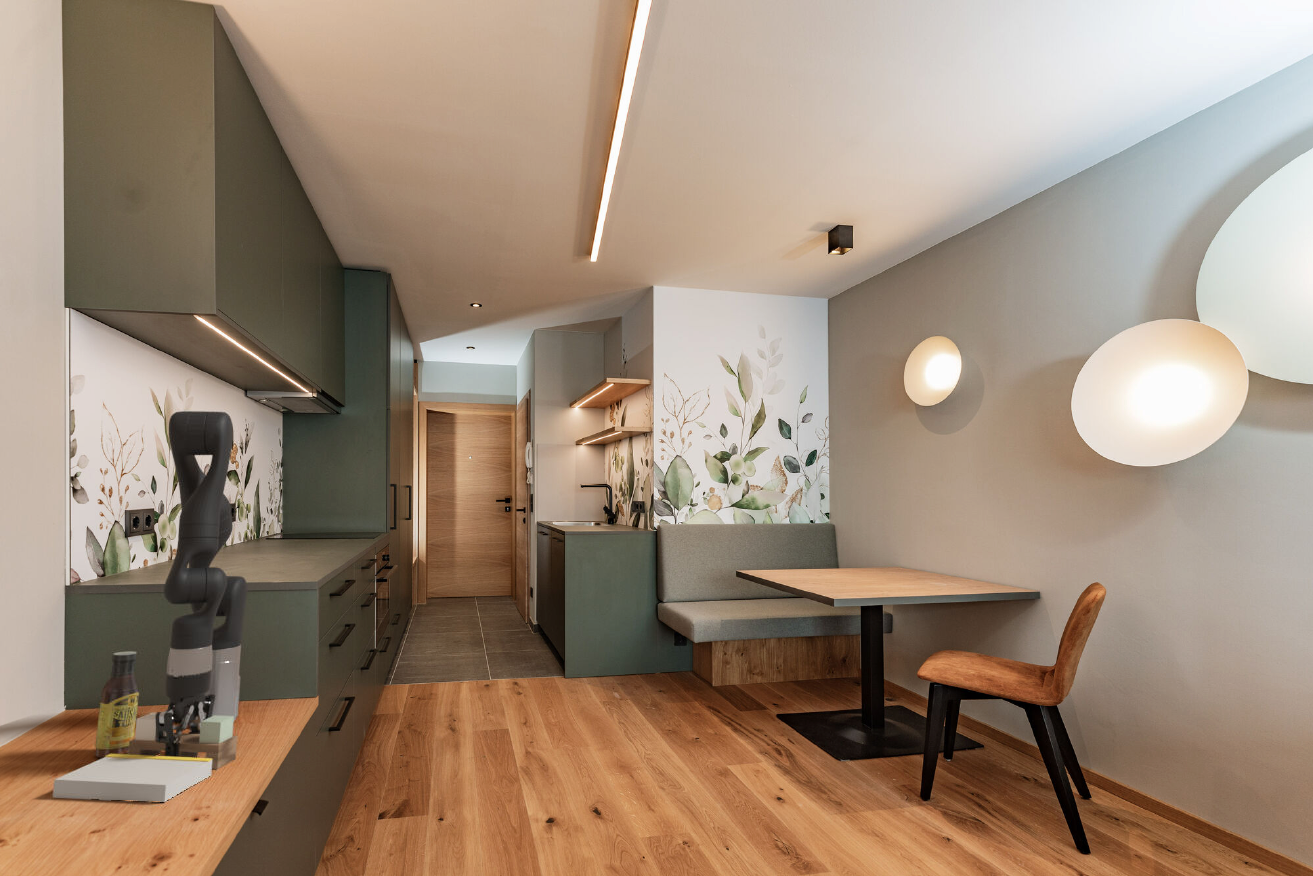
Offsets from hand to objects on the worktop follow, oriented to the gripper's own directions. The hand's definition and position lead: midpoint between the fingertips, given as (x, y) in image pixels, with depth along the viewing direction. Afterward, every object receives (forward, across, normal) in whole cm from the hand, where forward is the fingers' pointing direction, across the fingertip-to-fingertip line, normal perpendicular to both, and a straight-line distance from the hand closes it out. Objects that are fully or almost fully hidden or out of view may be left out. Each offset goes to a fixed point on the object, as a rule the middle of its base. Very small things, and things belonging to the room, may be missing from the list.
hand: (182, 756), depth 141 cm
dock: (+1, +12, 0) cm, 12 cm away
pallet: (+1, 0, 0) cm, 1 cm away
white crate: (-3, 0, -6) cm, 7 cm away
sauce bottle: (+1, -2, -16) cm, 16 cm away
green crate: (-3, 0, +6) cm, 7 cm away
